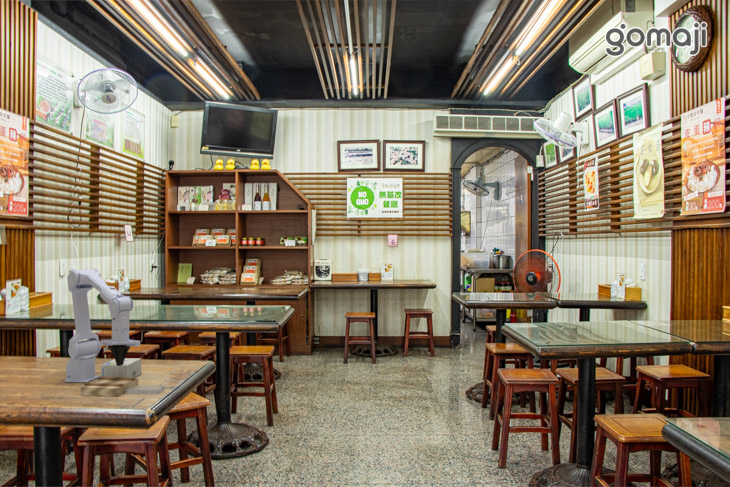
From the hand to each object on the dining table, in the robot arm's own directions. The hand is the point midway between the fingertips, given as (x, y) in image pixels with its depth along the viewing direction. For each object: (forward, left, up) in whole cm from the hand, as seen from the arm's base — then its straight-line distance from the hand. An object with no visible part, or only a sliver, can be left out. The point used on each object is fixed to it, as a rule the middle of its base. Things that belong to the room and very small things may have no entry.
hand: (119, 365), depth 163 cm
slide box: (-1, -3, -9) cm, 9 cm away
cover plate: (+12, -3, -9) cm, 15 cm away
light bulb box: (-2, +13, -5) cm, 14 cm away
